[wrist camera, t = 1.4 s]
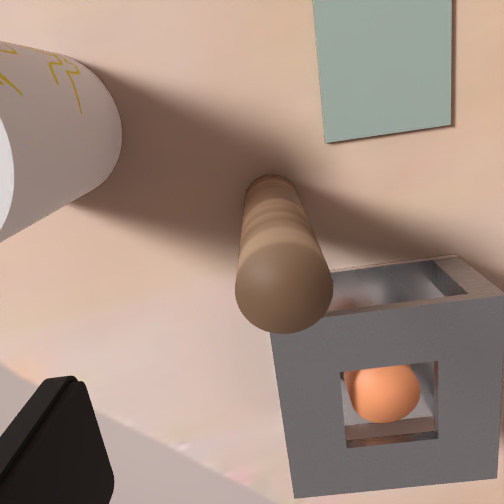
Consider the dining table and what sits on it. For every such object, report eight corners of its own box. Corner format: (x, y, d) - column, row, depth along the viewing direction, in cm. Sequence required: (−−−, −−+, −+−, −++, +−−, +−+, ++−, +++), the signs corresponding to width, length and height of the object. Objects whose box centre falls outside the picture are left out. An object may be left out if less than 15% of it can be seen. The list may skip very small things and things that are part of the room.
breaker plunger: (341, 349, 27) (348, 369, 25) (408, 341, 26) (420, 361, 24) (345, 403, 28) (352, 426, 26) (409, 396, 28) (421, 419, 26)
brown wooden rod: (241, 178, 26) (227, 251, 14) (294, 170, 26) (329, 237, 14) (249, 229, 27) (243, 339, 15) (300, 222, 27) (337, 327, 15)
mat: (311, -15, 23) (312, -17, 22) (448, -38, 22) (451, -40, 22) (324, 142, 25) (326, 142, 25) (448, 124, 25) (450, 124, 25)
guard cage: (266, 278, 28) (268, 324, 23) (455, 254, 28) (506, 294, 22) (287, 427, 32) (294, 498, 26) (453, 409, 31) (497, 478, 26)
